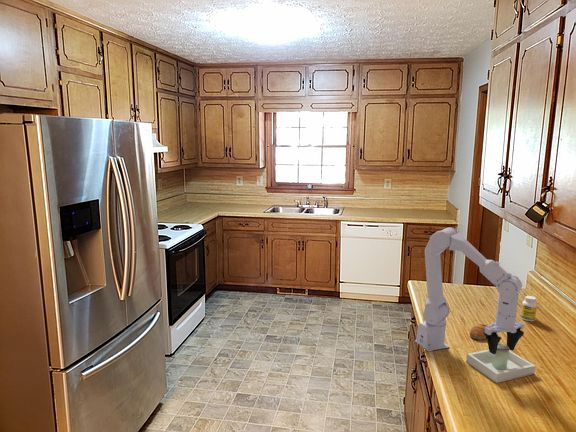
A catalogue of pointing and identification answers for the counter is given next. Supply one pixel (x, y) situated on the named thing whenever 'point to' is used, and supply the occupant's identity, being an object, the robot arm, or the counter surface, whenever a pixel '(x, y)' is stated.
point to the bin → (484, 364)
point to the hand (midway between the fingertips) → (501, 350)
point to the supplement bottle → (529, 308)
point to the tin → (501, 357)
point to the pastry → (478, 332)
